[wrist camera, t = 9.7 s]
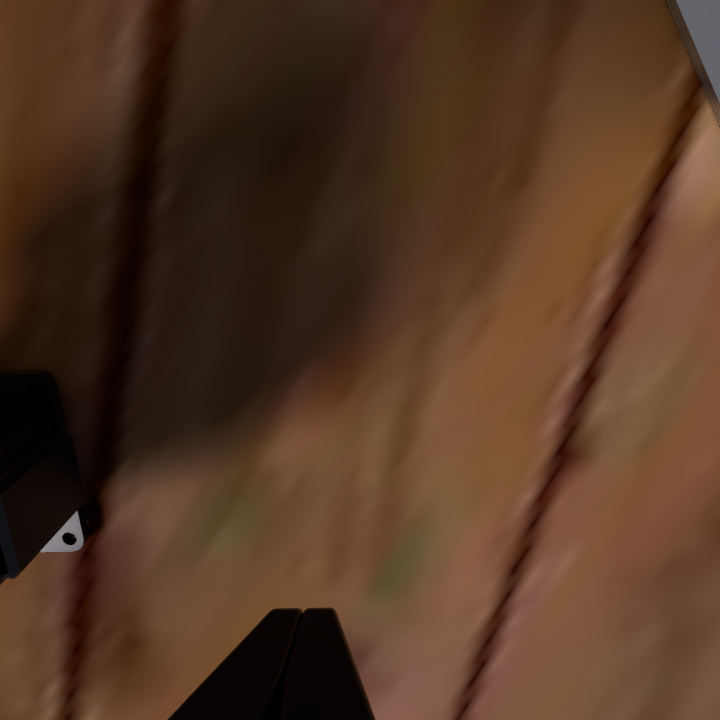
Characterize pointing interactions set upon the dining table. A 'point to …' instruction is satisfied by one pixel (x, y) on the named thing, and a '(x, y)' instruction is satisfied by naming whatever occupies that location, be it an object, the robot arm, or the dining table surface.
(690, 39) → the gate post
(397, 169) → the dining table surface
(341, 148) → the dining table surface
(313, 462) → the dining table surface
